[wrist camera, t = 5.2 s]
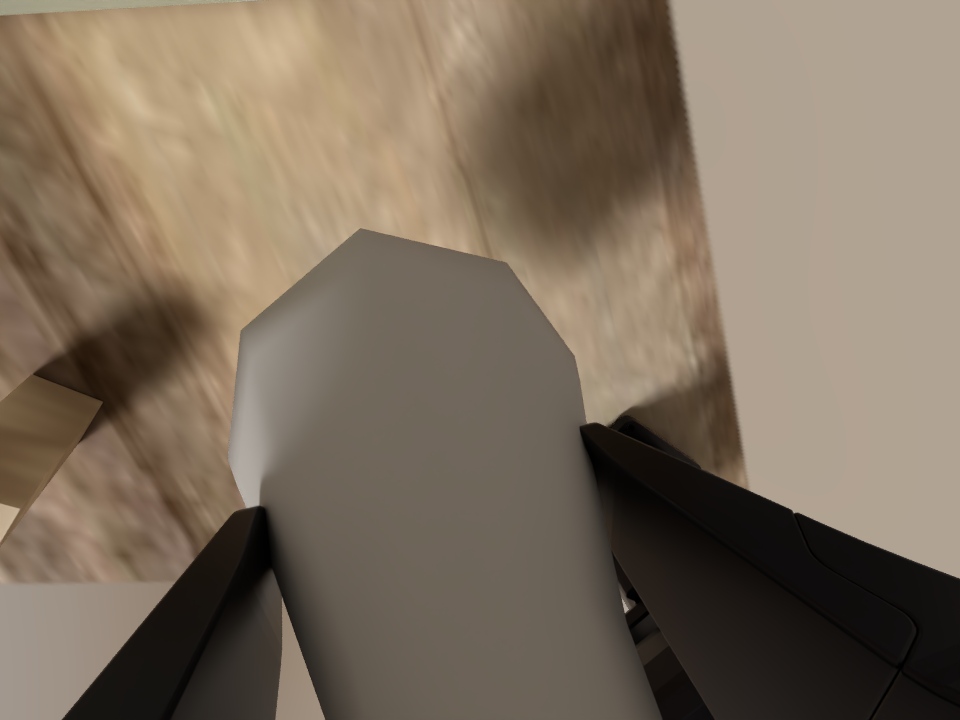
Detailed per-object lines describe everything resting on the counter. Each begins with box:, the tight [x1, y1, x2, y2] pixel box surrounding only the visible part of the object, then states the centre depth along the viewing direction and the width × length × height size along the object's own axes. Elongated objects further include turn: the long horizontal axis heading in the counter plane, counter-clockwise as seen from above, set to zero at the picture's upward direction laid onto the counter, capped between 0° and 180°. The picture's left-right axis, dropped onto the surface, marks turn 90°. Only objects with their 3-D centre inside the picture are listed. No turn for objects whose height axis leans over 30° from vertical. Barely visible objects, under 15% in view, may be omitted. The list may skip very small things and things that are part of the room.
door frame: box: [0, 375, 103, 547], centre depth 12 cm, size 2×19×5 cm, turn 140°
